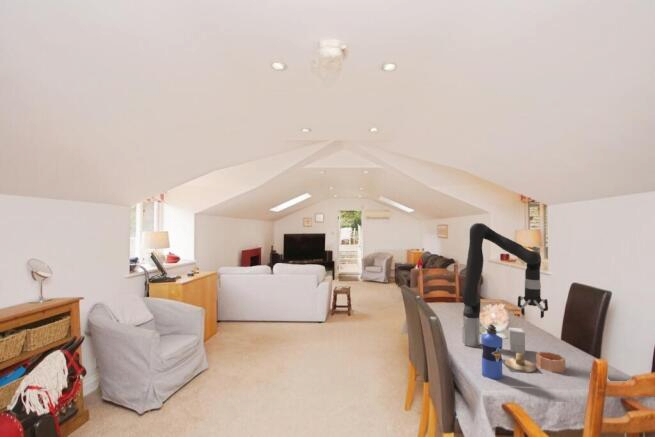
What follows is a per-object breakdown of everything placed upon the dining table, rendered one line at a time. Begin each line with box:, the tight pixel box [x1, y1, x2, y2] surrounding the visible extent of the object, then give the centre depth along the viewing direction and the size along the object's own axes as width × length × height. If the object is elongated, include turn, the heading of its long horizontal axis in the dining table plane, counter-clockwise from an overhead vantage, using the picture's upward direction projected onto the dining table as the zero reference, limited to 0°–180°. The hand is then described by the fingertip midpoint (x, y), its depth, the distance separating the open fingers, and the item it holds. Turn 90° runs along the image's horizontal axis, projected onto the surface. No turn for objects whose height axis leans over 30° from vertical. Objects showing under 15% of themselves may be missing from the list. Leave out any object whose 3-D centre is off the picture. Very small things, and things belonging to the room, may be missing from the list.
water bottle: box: [480, 324, 503, 380], centre depth 163 cm, size 9×9×25 cm
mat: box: [502, 359, 544, 375], centre depth 172 cm, size 15×15×1 cm
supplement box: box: [508, 327, 526, 355], centre depth 193 cm, size 7×7×13 cm
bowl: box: [535, 351, 566, 373], centre depth 171 cm, size 12×12×6 cm
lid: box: [504, 353, 537, 372], centre depth 172 cm, size 14×14×6 cm
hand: (532, 316), depth 183 cm, fingers open, 8 cm apart
